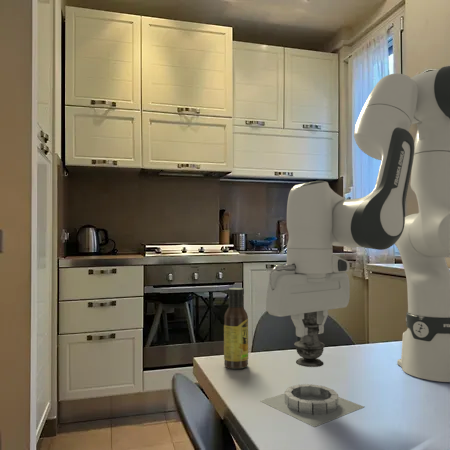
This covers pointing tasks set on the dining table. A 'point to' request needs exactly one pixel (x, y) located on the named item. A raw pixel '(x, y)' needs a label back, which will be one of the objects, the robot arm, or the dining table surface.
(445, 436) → the dining table surface
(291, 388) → the ring
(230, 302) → the sauce bottle
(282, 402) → the board
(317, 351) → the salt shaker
